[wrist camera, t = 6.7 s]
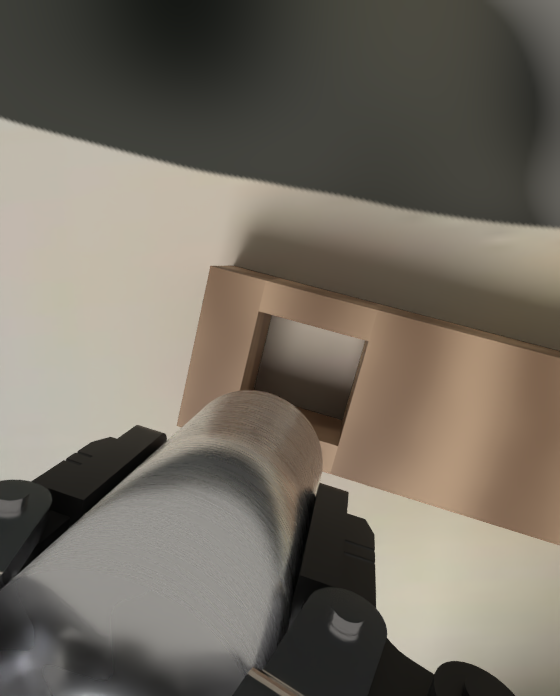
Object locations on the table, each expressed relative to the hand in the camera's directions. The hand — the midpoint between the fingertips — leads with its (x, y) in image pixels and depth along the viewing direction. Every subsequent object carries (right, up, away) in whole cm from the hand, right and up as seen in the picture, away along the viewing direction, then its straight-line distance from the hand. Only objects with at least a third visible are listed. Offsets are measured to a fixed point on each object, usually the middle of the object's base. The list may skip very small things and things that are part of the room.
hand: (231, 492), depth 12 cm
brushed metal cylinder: (0, 0, +2) cm, 2 cm away
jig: (+10, +1, +14) cm, 17 cm away
